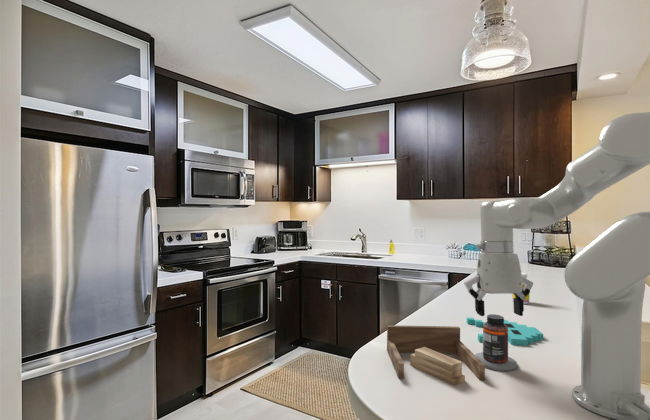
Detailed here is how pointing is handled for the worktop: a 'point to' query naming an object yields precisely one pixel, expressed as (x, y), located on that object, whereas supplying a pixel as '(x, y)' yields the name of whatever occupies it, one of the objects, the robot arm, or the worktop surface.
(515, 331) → the alien figure
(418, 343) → the walnut rack
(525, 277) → the supplement bottle
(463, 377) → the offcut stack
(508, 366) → the slate pad
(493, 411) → the worktop surface
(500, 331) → the supplement bottle
